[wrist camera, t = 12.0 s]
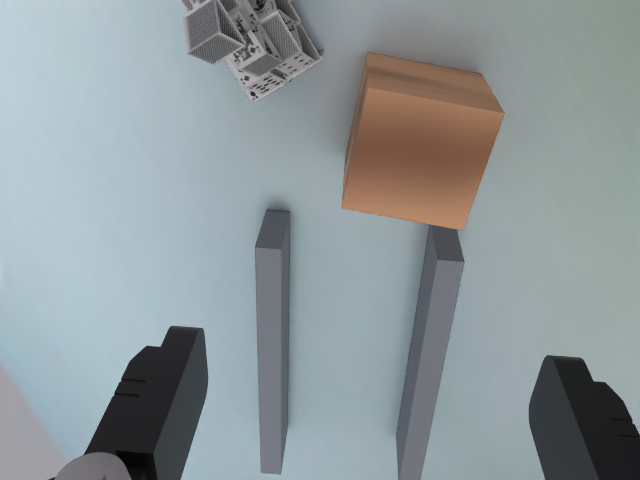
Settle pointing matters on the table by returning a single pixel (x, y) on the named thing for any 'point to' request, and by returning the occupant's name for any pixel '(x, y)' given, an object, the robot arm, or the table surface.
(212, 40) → the house of cards
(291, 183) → the table surface
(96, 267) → the table surface
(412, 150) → the terracotta block
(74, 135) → the table surface
